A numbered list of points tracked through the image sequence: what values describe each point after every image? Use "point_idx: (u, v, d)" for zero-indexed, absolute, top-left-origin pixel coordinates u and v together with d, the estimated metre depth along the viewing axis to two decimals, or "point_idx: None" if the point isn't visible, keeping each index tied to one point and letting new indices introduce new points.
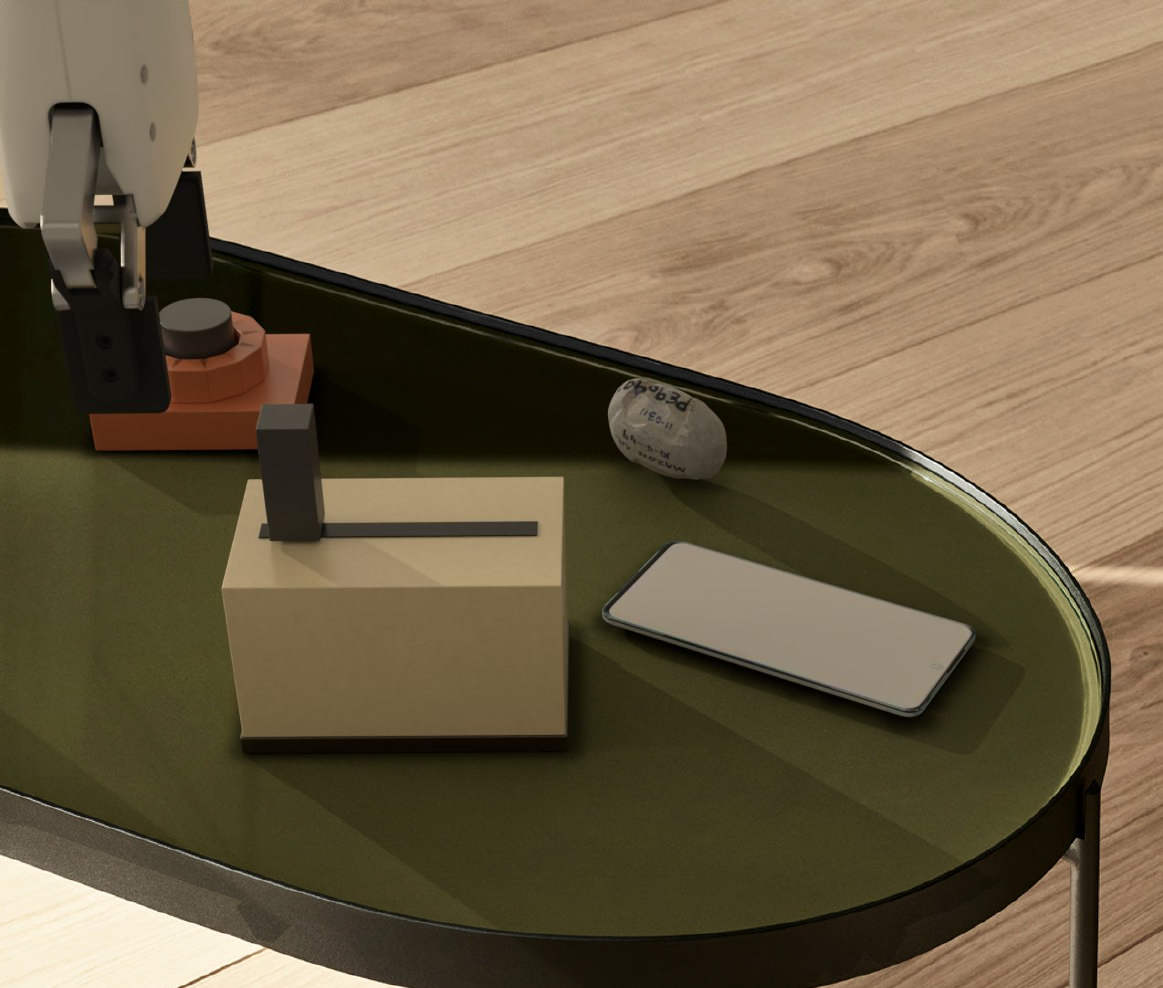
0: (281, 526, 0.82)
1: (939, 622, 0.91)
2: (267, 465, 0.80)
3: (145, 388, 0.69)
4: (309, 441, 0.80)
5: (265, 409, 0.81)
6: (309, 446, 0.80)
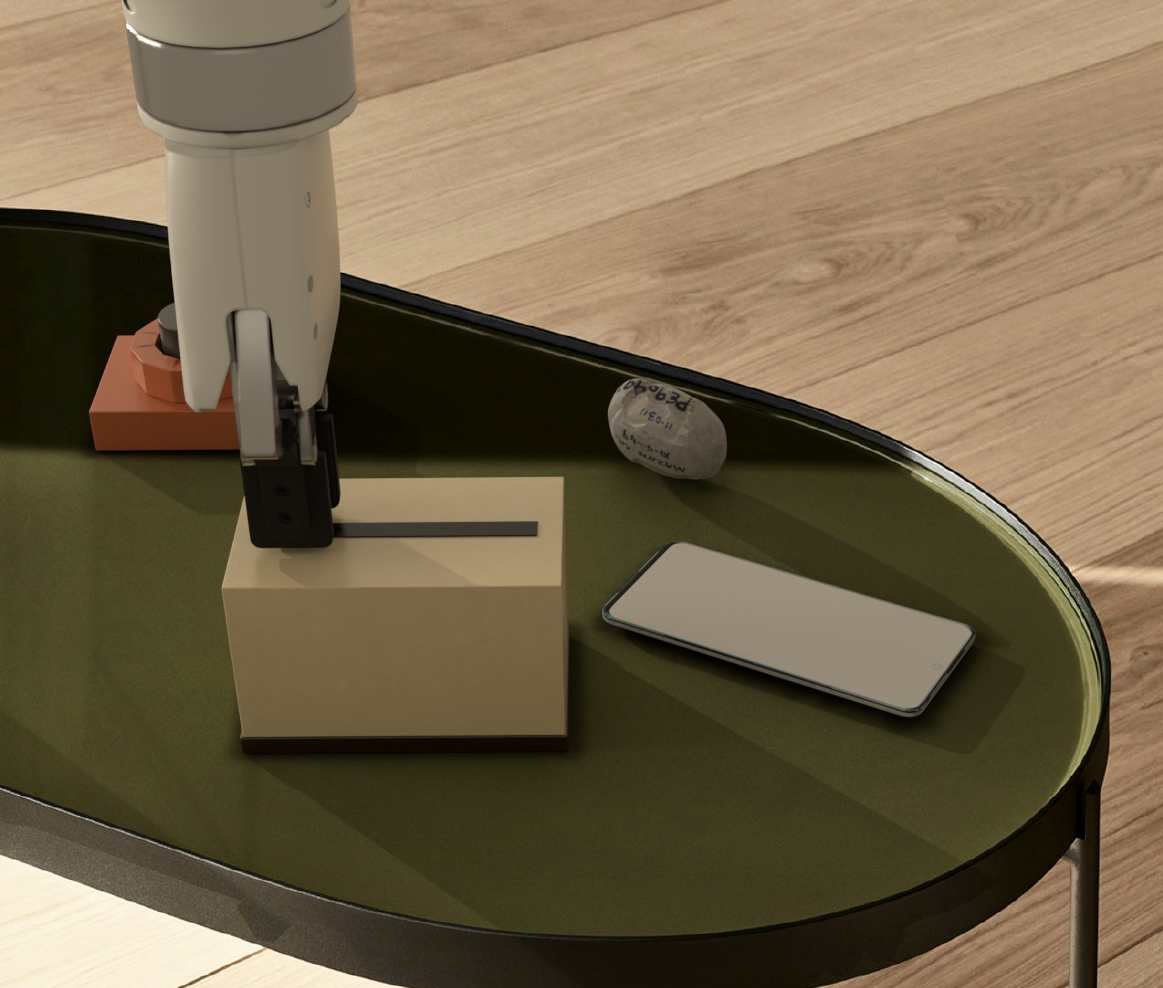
0: None
1: (939, 622, 0.91)
2: None
3: (313, 527, 0.81)
4: None
5: None
6: None
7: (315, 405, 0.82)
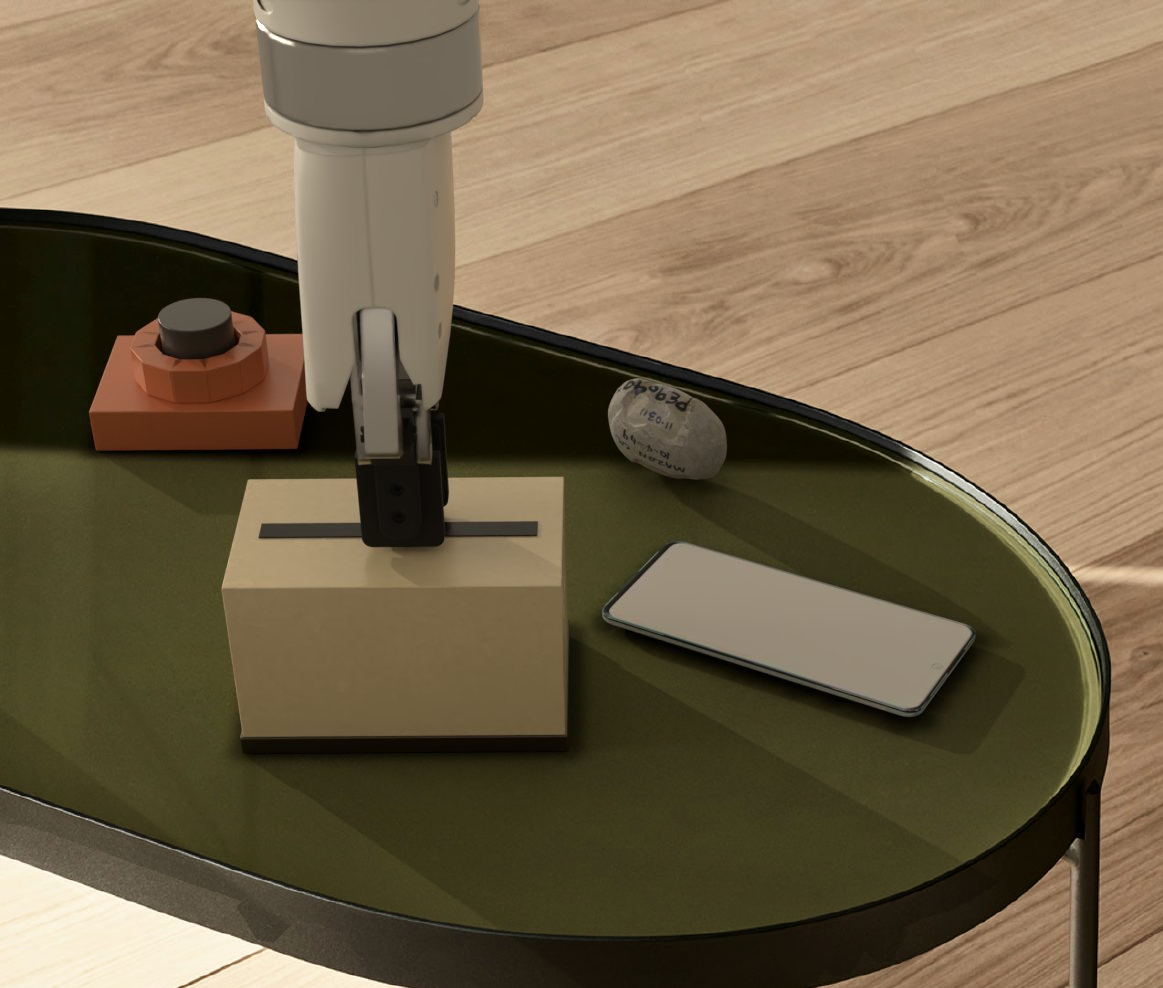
0: None
1: (939, 622, 0.91)
2: None
3: (425, 526, 0.81)
4: None
5: None
6: None
7: None
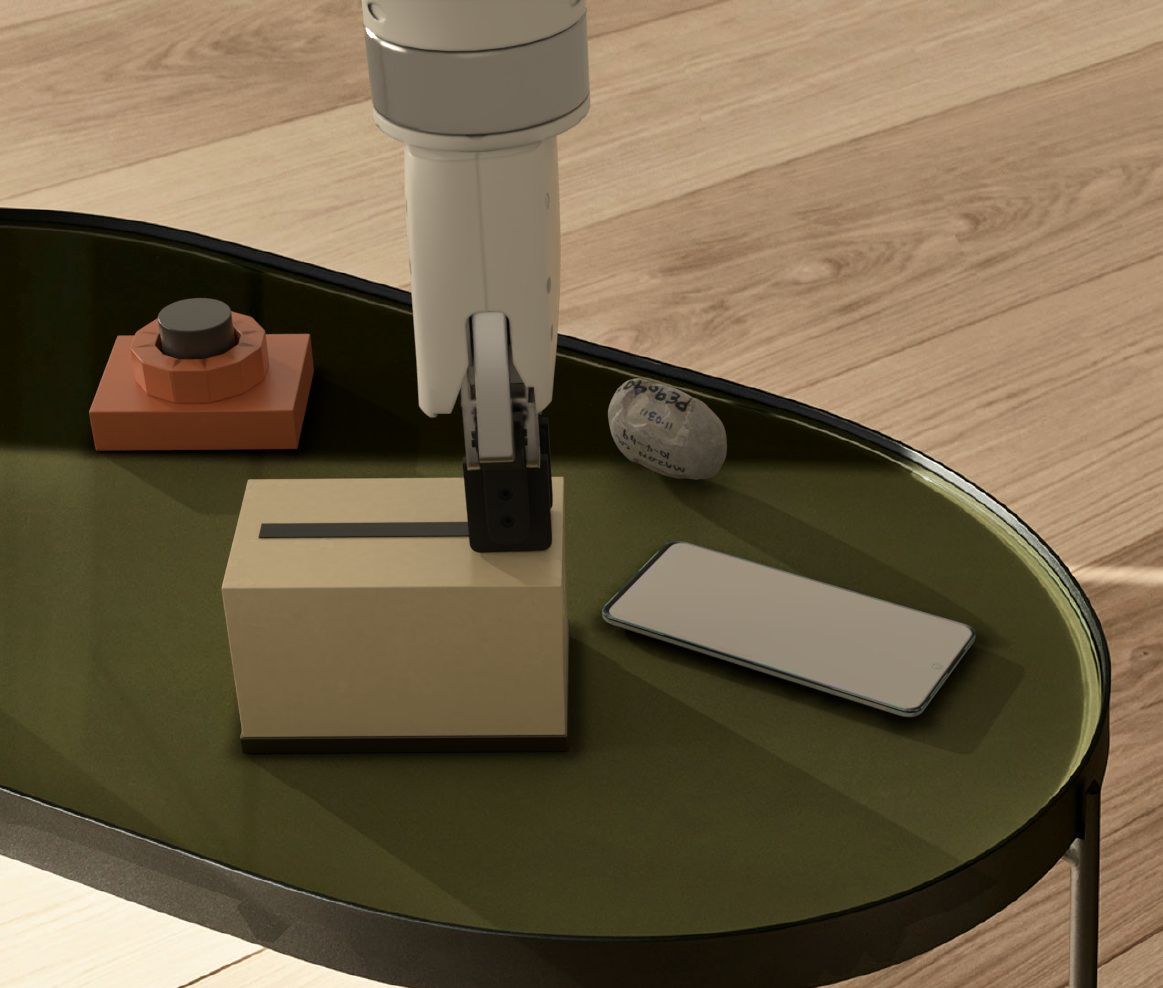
0: None
1: (939, 622, 0.91)
2: None
3: (532, 530, 0.81)
4: None
5: None
6: None
7: None
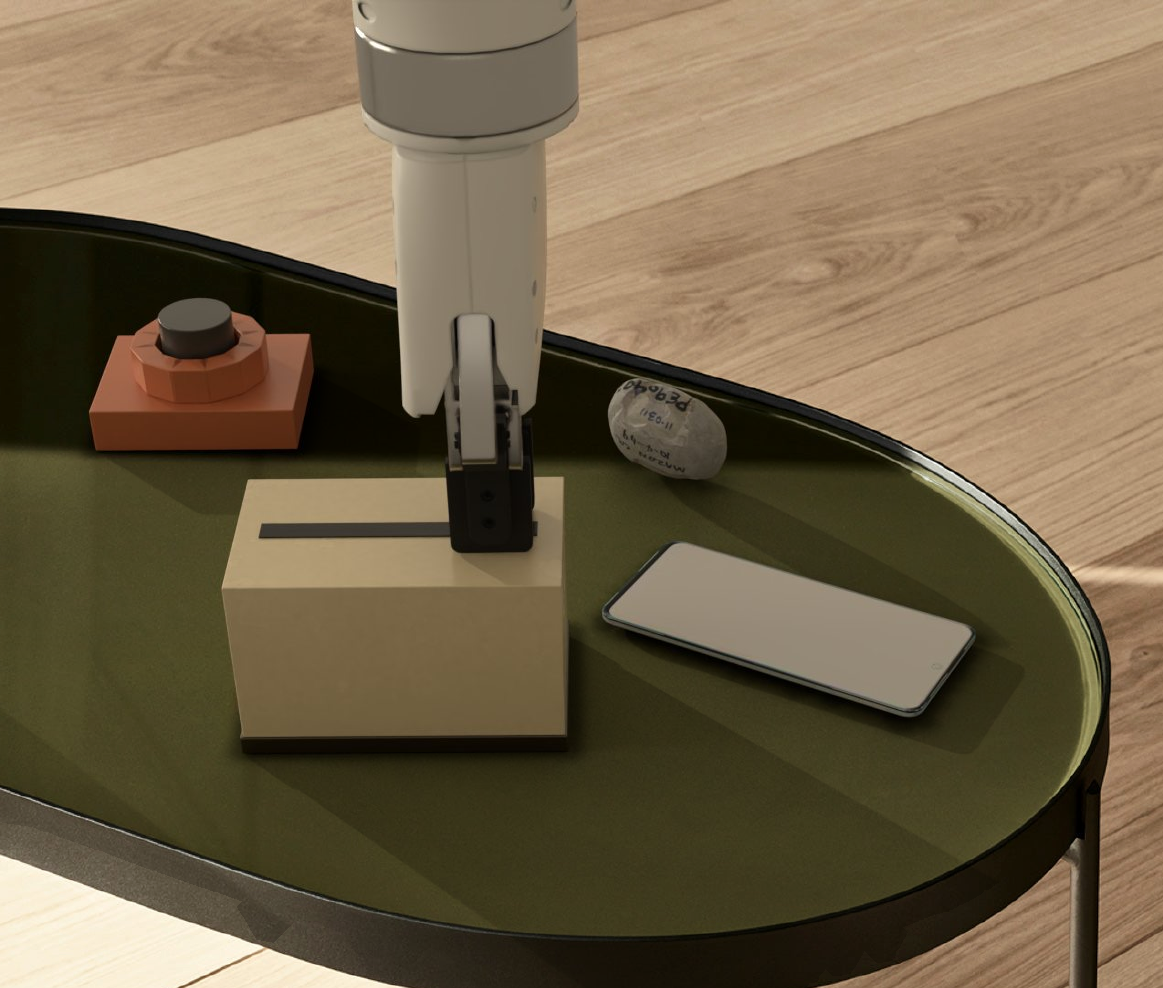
0: None
1: (939, 622, 0.91)
2: None
3: (514, 532, 0.81)
4: None
5: None
6: None
7: None
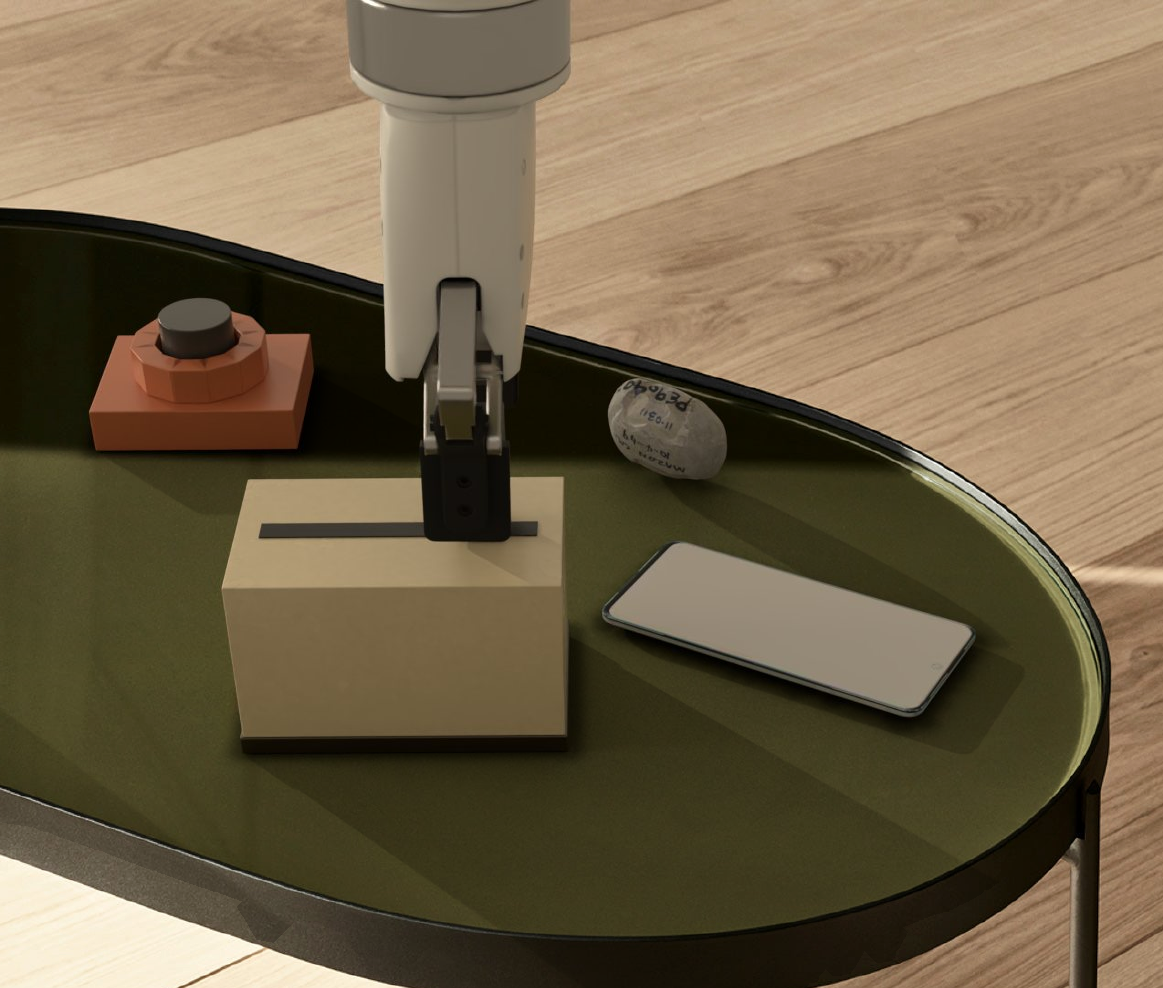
0: None
1: (939, 622, 0.91)
2: None
3: (491, 520, 0.77)
4: (502, 439, 0.80)
5: None
6: None
7: None
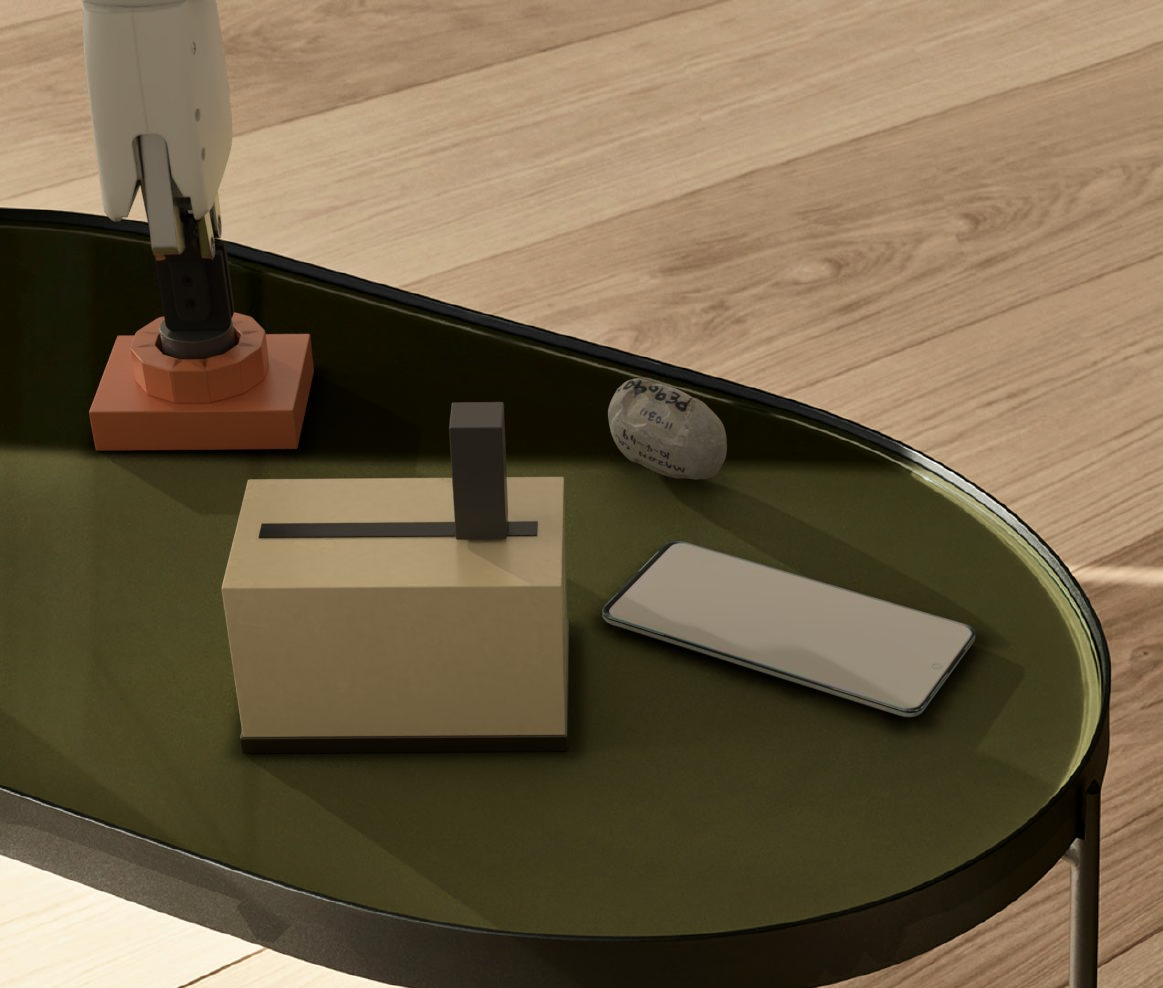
0: (468, 524, 0.82)
1: (939, 622, 0.91)
2: (458, 463, 0.80)
3: (214, 313, 1.03)
4: (502, 439, 0.80)
5: (456, 408, 0.81)
6: (502, 444, 0.80)
7: None
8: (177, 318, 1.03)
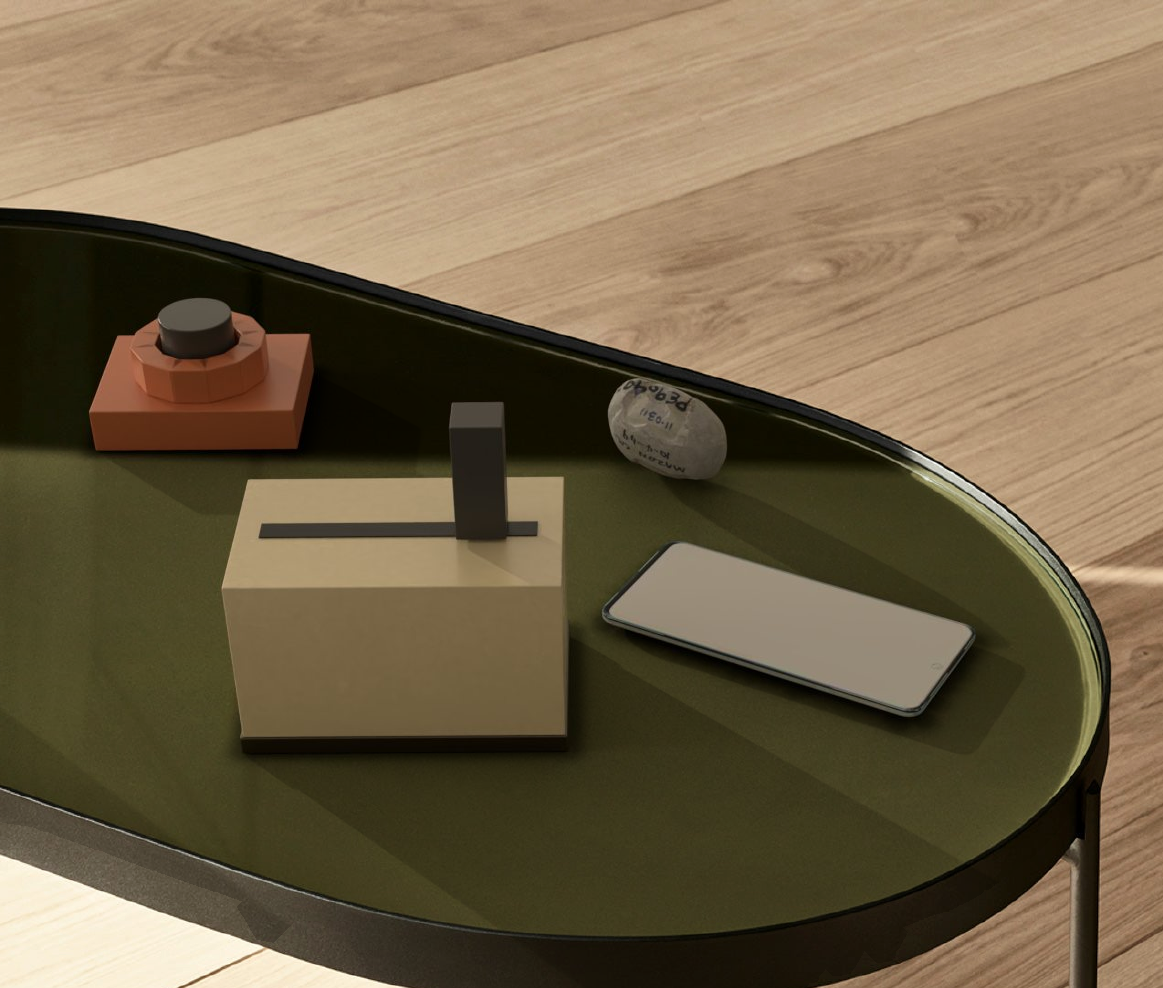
0: (468, 524, 0.82)
1: (939, 622, 0.91)
2: (458, 463, 0.80)
3: None
4: (502, 439, 0.80)
5: (456, 408, 0.81)
6: (502, 444, 0.80)
7: None
8: None
